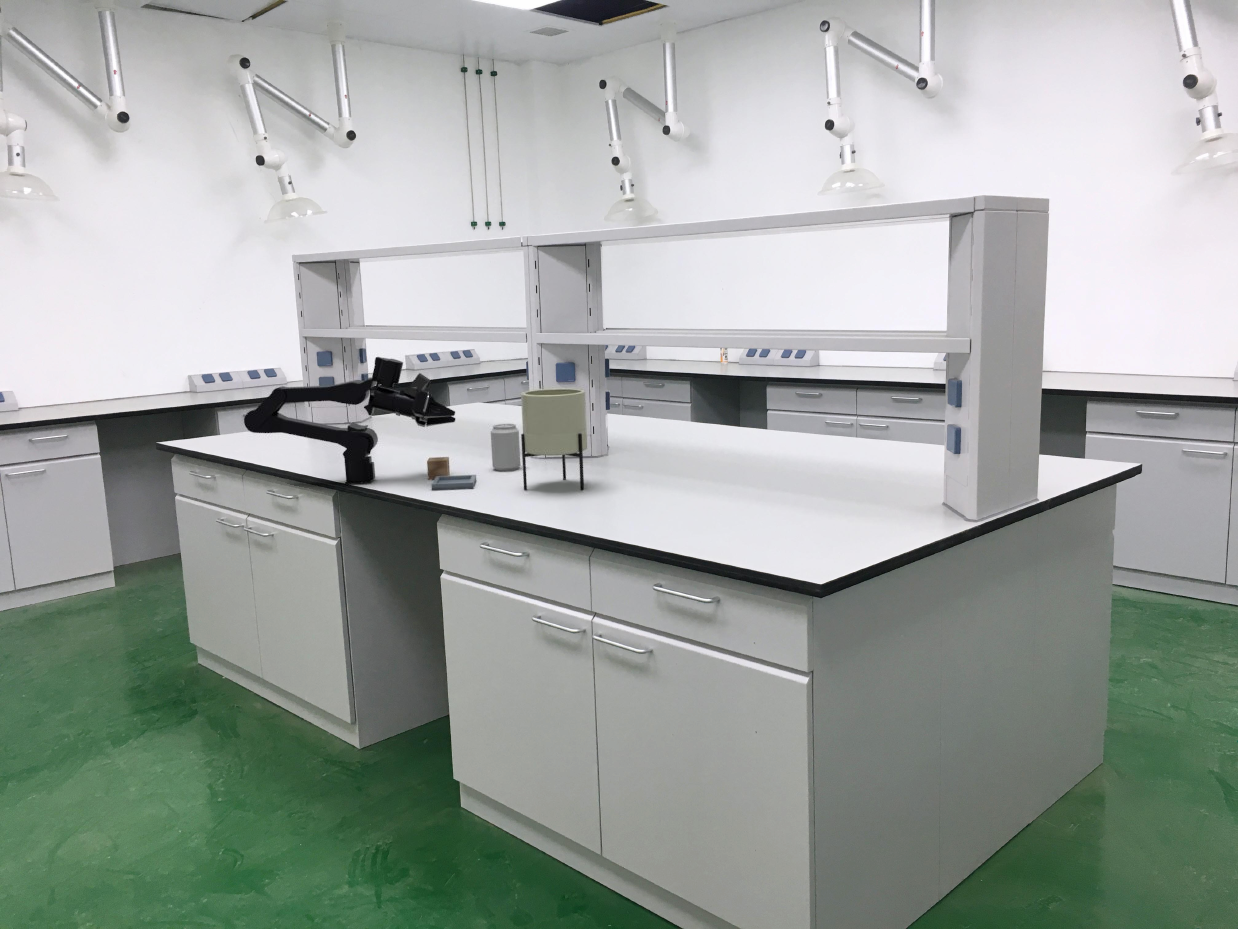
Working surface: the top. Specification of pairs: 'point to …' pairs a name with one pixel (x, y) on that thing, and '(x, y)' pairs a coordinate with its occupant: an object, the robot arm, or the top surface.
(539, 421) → the planter
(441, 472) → the cube
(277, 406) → the robot arm
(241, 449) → the top surface
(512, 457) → the can
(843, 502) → the top surface
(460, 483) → the tray
